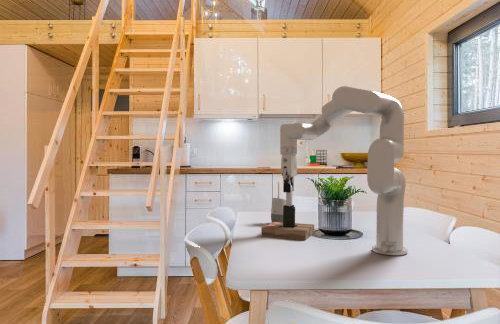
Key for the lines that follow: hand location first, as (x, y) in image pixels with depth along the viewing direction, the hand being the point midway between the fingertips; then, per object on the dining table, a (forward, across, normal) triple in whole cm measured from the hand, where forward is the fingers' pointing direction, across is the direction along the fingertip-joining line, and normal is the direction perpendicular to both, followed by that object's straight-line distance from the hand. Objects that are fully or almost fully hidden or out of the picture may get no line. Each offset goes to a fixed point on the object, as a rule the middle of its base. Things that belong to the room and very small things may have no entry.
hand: (288, 191), depth 175 cm
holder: (+20, 0, 0) cm, 20 cm away
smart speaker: (+20, +24, +12) cm, 33 cm away
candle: (+20, 0, 0) cm, 20 cm away
